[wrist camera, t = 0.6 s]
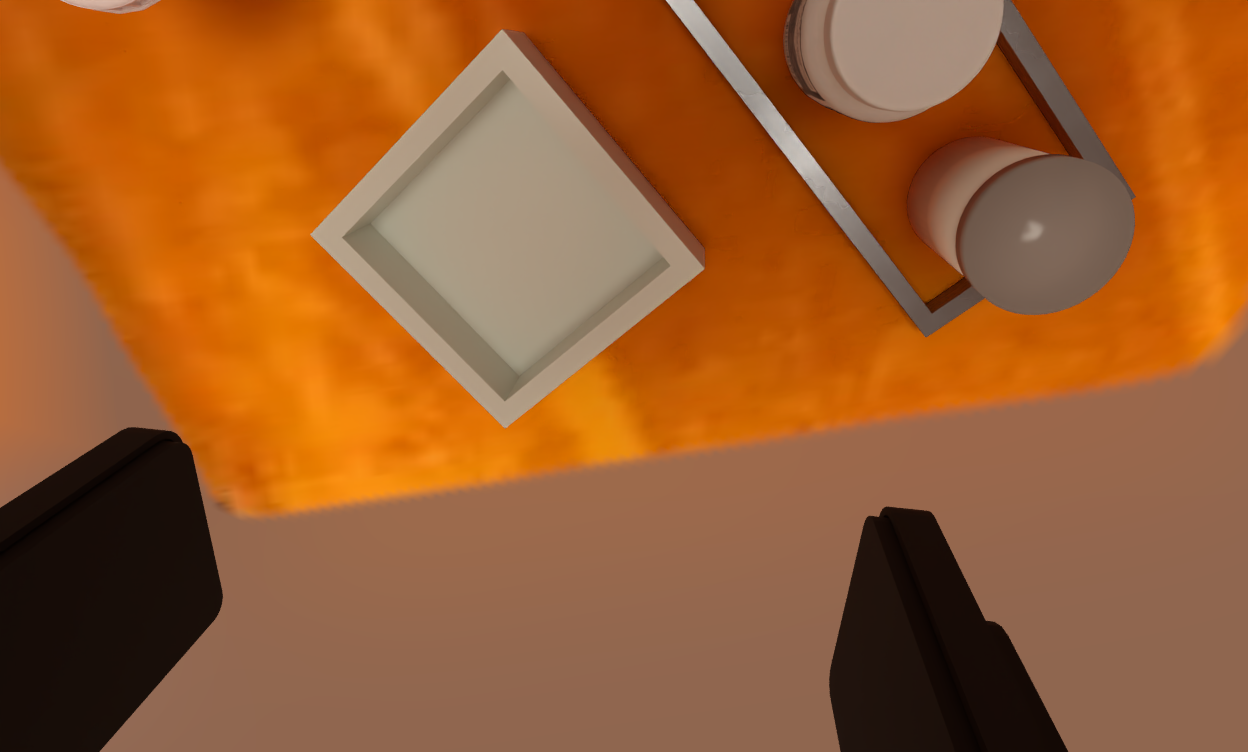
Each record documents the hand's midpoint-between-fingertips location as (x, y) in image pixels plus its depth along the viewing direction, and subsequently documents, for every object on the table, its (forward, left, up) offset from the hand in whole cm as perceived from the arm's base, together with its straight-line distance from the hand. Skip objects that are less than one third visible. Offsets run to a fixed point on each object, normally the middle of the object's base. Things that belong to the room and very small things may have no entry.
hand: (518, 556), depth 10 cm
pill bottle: (-11, 0, -25) cm, 27 cm away
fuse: (-11, +9, -25) cm, 28 cm away
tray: (+5, -3, -25) cm, 26 cm away
